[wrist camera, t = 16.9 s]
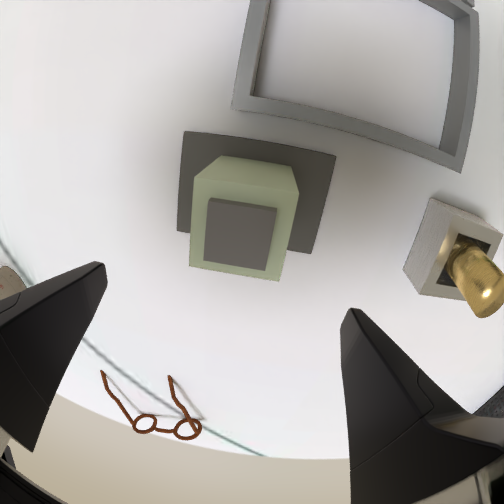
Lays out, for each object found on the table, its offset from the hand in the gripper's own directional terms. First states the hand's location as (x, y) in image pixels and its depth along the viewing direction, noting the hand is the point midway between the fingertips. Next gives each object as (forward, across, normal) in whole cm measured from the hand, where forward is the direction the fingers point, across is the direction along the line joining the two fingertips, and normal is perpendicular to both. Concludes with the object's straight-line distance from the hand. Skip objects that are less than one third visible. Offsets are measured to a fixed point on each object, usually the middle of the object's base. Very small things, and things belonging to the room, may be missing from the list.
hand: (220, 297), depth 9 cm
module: (+12, 0, 0) cm, 12 cm away
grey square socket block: (+12, -18, 0) cm, 22 cm away
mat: (+12, 0, 0) cm, 12 cm away
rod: (+12, -18, 0) cm, 22 cm away
